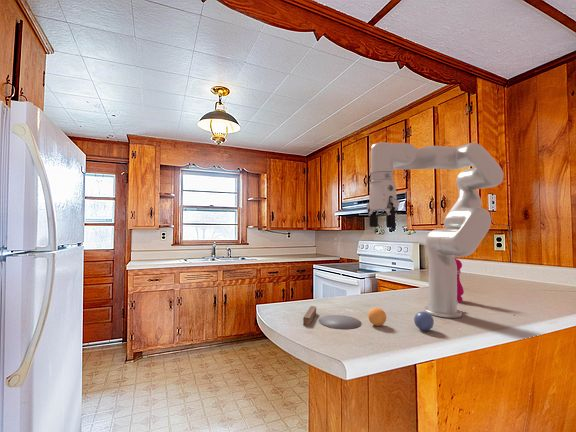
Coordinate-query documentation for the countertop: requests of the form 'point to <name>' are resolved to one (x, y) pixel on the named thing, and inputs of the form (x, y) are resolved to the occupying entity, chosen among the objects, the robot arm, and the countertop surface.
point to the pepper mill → (459, 286)
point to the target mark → (339, 322)
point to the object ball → (377, 316)
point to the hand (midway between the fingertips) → (381, 227)
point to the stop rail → (309, 316)
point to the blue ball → (423, 320)
